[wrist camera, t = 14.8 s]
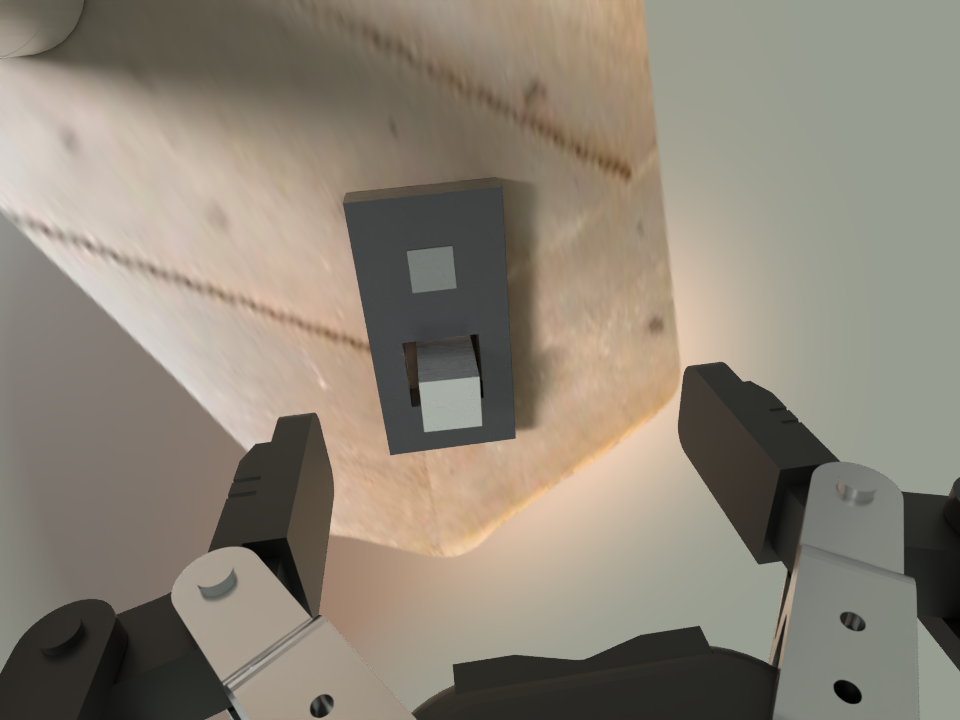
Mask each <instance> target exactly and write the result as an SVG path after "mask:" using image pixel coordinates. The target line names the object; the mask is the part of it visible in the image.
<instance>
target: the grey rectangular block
mask: <svg viewBox="0 0 960 720" xmlns="http://www.w3.org/2000/svg"><path fill="white" fill-rule="evenodd" d="M416 345H417V362H418V379H419V390H420V398H421V407H422V416H423V425H424V432H431V431H440V430H449V429H459V428H468V427H477V426H482V414H481V395H480V377H479V372H478V368H477V364H476V359H475V355H474V350H473V346H472V342H471V337H470V335H466V336H457V337H449V338H441V339H433V340H424V341H416Z"/></svg>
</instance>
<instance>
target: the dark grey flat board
mask: <svg viewBox="0 0 960 720" xmlns="http://www.w3.org/2000/svg"><path fill="white" fill-rule="evenodd" d="M343 206H344V211H345V216H346V222H347V227H348V232H349V238H350V243H351V248H352V253H353V259H354V264H355V269H356V275H357V280H358V285H359V291H360V296H361V301H362V307H363V312H364V317H365V323H366V328H367V333H368V339H369V344H370V349H371V355H372V360H373V365H374V371H375V376H376V381H377V387H378V392H379V397H380V403H381V408H382V413H383V419H384V424H385V429H386V434H387V440H388V445H389V450H390V455H395V454H402V453H410V452H417V451H425V450H432V449H440V448H447V447H455V446H463V445H470V444H478V443H485V442H493V441H500V440H508V439H515V438H516V437H515V418H514V400H513V382H512V363H511V345H510V326H509V308H508V290H507V271H506V253H505V234H504V216H503V198H502V186H501V184H500V183H499V181H498V179H497V178H486V179H476V180H467V181H457V182H447V183H438V184H428V185H418V186H409V187H399V188H389V189H380V190H370V191H360V192H351V193H346V195H345V198H344V202H343ZM474 334H476V339H477V350H478V362H479V374H480V395H481V414H482V426H477V427H468V428H459V429H449V430H440V431H431V432H424V425H423V416H422V407H421V398H420V390H419V388H418V389H411V385H410V378H409V372H408V365H407V359H406V353H405V346H404V343H408V342H416V341H424V340H433V339H441V338H449V337H457V336H466V335H474Z"/></svg>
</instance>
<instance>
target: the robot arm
mask: <svg viewBox="0 0 960 720" xmlns="http://www.w3.org/2000/svg"><path fill="white" fill-rule="evenodd" d="M83 4H84V0H0V58H8V57H16V56H25V55H34V54H38V53H41V52H44V51H47V50H50V49H52V48H54V47H55V46H56V45H58V44H59V43H61V42H62V41H64V40H65V39H66V38H67V37H68V35H69V34H70V33H71V32H72V31H73V29H74V28H75V27H76V24H77V22H78V20H79V18H80V15H81V13H82V10H83ZM678 433H679V439H680V443H681V445H682V448H683V450H684V452H685V453H686V455H687V456H688V458H689V460H690V461H691V462H692V464H693V466H694V467H695V469H696V470H697V472H698V473H699V475H700V476H701V478H702V479H703V481H704V482H705V484H706V485H707V487H708V488H709V490H710V492H711V493H712V495H713V496H714V498H715V499H716V501H717V502H718V504H719V505H720V507H721V508H722V510H723V511H724V512H725V514H726V516H727V517H728V519H729V520H730V522H731V523H732V525H733V526H734V528H735V529H736V531H737V532H738V534H739V536H740V537H741V539H742V540H743V542H744V543H745V545H746V546H747V548H748V549H749V551H750V552H751V554H752V555H753V557H754V558H755V560H756V561H757V563H758V564H765V563H772V562H778V561H782V562H783V564H784V565H785V566H786V568H787V572H786V576H785V580H784V584H783V590H782V595H781V601H780V605H779V611H778V616H777V621H776V626H775V631H774V637H773V642H772V647H771V653H770V657H769V662H768V663H766V662H764V661H762V660H759V659H757V658H755V657H752V656H750V655H747V654H744V653H741V652H737V651H734V650H731V649H726V648H721V647H714V646H709V644H708V642H707V640H706V638H705V636H704V634H703V632H702V630H701V628H700V626H696V627H689V628H683V629H677V630H671V631H664V632H657V633H651V634H645V635H640V636H637V637H635V638H633V639H630V640H628V641H626V642H624V643H622V644H619V645H617V646H615V647H612V648H610V649H608V650H606V651H604V652H601V653H599V654H597V655H594V656H592V657H590V658H587V659H585V660H568V659H557V658H545V657H534V656H522V655H511V656H504V657H499V658H492V659H486V660H479V661H473V662H466V663H460V664H453V672H454V682H455V685H454V686H451V687H449V688H447V689H445V690H443V691H441V692H439V693H438V694H436V695H434V696H433V697H431V698H429V699H428V700H427V701H425V702H424V703H423V704H421V705H420V706H419V707H418V708H416V709H415V710H414V711H413V712H412V713H410V711H409V710H408V709H407V708H406V707H405V706H404V705H403V704H402V703H401V701H400V700H399V699H398V698H397V697H396V696H395V695H394V694H393V692H392V691H391V690H390V689H389V688H388V687H387V686H386V685H385V683H384V682H383V681H382V680H381V679H380V678H379V677H378V676H377V675H376V673H375V672H374V671H373V670H372V669H371V668H370V667H369V666H368V664H366V662H365V661H364V660H363V659H362V658H361V657H360V655H359V654H358V653H357V652H356V651H355V650H354V649H353V648H352V646H351V645H350V644H349V643H348V642H347V641H346V640H345V639H344V638H343V636H342V635H341V634H340V633H339V632H338V631H337V630H336V629H335V628H334V626H333V625H332V624H331V623H330V622H329V621H328V620H327V619H326V618H325V617H323V616H321V615H319V607H320V599H321V592H322V584H323V576H324V568H325V561H326V553H327V545H328V538H329V530H330V523H331V515H332V508H333V500H334V482H333V474H332V469H331V465H330V461H329V457H328V453H327V449H326V445H325V441H324V437H323V433H322V429H321V425H320V422H319V418H318V416H317V414H316V413H308V414H300V415H292V416H284V417H279V419H278V421H277V424H276V427H275V431H274V434H273V438H272V441H271V442H267V443H260V444H255V445H254V446H253V448H252V449H251V450H250V451H249V452H248V453H247V454H246V455H245V456H244V457H243V459H242V460H241V461H240V462H239V465H238V468H237V471H236V474H235V477H234V483H232V485H231V488H230V491H229V494H228V499H226V502H225V505H224V508H223V511H222V514H221V517H220V519H219V522H218V525H217V528H216V531H215V534H214V536H213V539H212V542H211V545H210V548H209V551H208V553H207V554H205V555H203V556H201V557H200V558H198V559H196V560H195V561H193V562H192V563H191V564H190V565H189V566H187V567H186V568H185V569H184V570H183V571H182V573H181V574H180V575H179V577H178V578H177V580H176V582H175V583H174V586H173V588H172V592H170V593H168V594H167V595H165V596H162V597H160V598H158V599H155V600H153V601H150V602H148V603H146V604H143V605H140V606H138V607H135V608H132V609H130V610H127V611H125V612H123V613H120V614H117V615H116V613H115V612H114V610H113V608H112V607H111V605H109V604H108V603H107V602H105V601H102V600H97V599H87V600H80V601H76V602H73V603H70V604H67V605H64V606H62V607H60V608H58V609H56V610H54V611H52V612H51V613H49V614H47V615H46V616H44V617H43V618H42V619H40V620H39V621H38V622H36V623H35V624H34V625H33V626H32V627H31V628H30V629H29V630H28V631H27V632H26V633H25V634H24V635H23V636H22V637H21V639H20V640H19V641H18V643H17V645H16V646H15V648H14V649H13V651H12V653H11V655H10V657H9V659H8V660H7V663H6V664H5V666H4V668H3V670H2V672H1V673H0V720H205V719H207V718H209V717H211V716H213V715H215V714H218V713H220V712H222V711H224V710H226V711H227V713H228V715H229V717H230V718H231V720H920V714H919V713H920V711H919V672H918V636H917V635H918V634H917V617H918V619H919V620H920V621H921V623H922V624H923V625H924V626H925V628H926V629H927V630H928V631H929V633H930V634H931V635H932V636H933V638H934V639H935V640H936V641H937V643H938V644H939V645H940V647H942V649H943V650H944V652H945V653H946V654H947V656H948V657H949V658H950V659H951V660H952V662H953V663H954V664H955V666H956V667H957V668H958V669H959V671H960V478H958V479H957V480H956V481H955V482H954V484H953V487H952V489H951V492H950V494H949V496H943V495H932V494H921V493H910V492H902V491H901V490H900V489H899V488H898V486H897V485H896V484H895V483H894V482H893V481H892V480H890V479H889V478H888V477H886V476H885V475H883V474H882V473H880V472H878V471H875V470H874V469H871V468H869V467H866V466H863V465H859V464H855V463H848V462H840V461H839V460H838V459H837V458H836V457H835V456H834V455H833V454H832V453H831V452H830V451H829V450H828V449H827V448H826V447H825V446H824V445H823V444H822V443H821V442H820V441H819V440H818V439H817V438H816V437H815V436H814V435H813V434H812V433H811V432H810V431H809V430H808V429H807V428H806V427H805V426H804V425H803V424H802V423H801V422H800V423H799V422H798V418H796V416H795V415H793V414H792V412H790V411H789V410H788V411H787V410H786V406H784V405H783V403H782V402H781V401H780V400H779V399H778V398H777V397H776V396H775V395H774V394H773V393H771V392H770V391H768V390H766V389H764V388H762V387H760V386H758V385H756V384H755V383H753V382H751V381H746V382H743V381H742V380H741V379H740V378H739V377H738V376H737V375H736V374H735V373H734V372H733V371H732V370H731V369H730V368H729V367H728V365H726V364H725V363H723V362H717V363H709V364H701V365H693V366H688V367H687V368H686V369H685V372H684V375H683V384H682V392H681V402H680V410H679V420H678Z"/></svg>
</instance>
